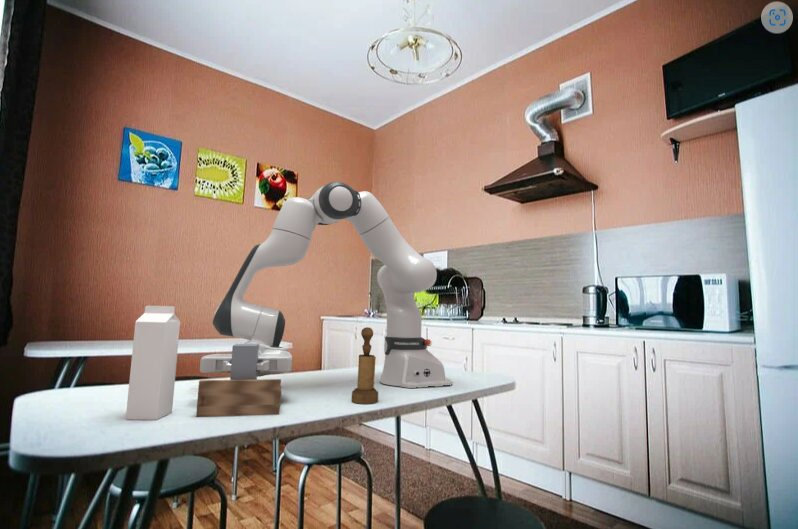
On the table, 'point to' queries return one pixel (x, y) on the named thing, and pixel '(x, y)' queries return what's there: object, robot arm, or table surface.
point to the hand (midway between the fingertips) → (244, 367)
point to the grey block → (244, 361)
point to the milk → (153, 364)
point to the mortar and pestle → (365, 373)
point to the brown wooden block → (238, 397)
